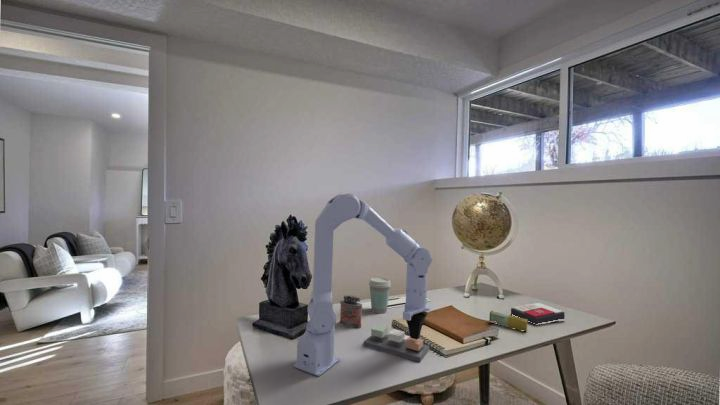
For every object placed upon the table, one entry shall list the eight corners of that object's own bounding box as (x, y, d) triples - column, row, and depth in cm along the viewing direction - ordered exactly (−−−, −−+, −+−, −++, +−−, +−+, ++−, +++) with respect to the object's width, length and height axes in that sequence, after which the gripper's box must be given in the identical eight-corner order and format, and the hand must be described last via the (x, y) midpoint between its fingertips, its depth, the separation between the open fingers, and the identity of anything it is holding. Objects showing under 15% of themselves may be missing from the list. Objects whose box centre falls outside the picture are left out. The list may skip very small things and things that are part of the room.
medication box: (488, 323, 110) (489, 312, 109) (490, 321, 112) (491, 310, 112) (526, 333, 102) (526, 321, 102) (528, 330, 104) (528, 319, 104)
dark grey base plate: (420, 362, 81) (420, 357, 81) (363, 345, 89) (363, 340, 89) (429, 350, 88) (429, 345, 88) (376, 335, 96) (376, 331, 96)
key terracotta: (418, 351, 83) (418, 344, 83) (406, 347, 85) (406, 341, 85) (422, 345, 86) (423, 339, 86) (410, 342, 88) (410, 336, 88)
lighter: (337, 324, 104) (338, 294, 104) (342, 320, 107) (343, 292, 107) (358, 329, 100) (359, 298, 100) (363, 325, 103) (364, 296, 103)
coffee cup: (391, 315, 114) (392, 283, 114) (368, 314, 114) (369, 282, 114) (389, 307, 123) (390, 277, 123) (367, 306, 123) (368, 276, 123)
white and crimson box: (510, 306, 118) (538, 301, 124) (510, 317, 119) (538, 311, 124) (535, 316, 108) (565, 310, 114) (535, 328, 108) (565, 321, 114)
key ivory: (399, 342, 86) (400, 336, 86) (388, 339, 88) (388, 333, 88) (404, 337, 89) (404, 331, 89) (393, 334, 91) (393, 328, 91)
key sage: (382, 337, 89) (382, 331, 89) (371, 334, 90) (371, 328, 90) (387, 333, 92) (387, 327, 92) (376, 330, 94) (376, 324, 94)
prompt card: (415, 344, 91) (415, 342, 91) (391, 337, 95) (391, 335, 95) (419, 340, 94) (419, 338, 94) (395, 333, 98) (395, 331, 98)
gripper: (421, 298, 77) (420, 352, 77) (437, 286, 90) (436, 332, 90) (396, 293, 81) (394, 345, 81) (414, 282, 94) (413, 326, 93)
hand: (414, 337), depth 86 cm, fingers closed
